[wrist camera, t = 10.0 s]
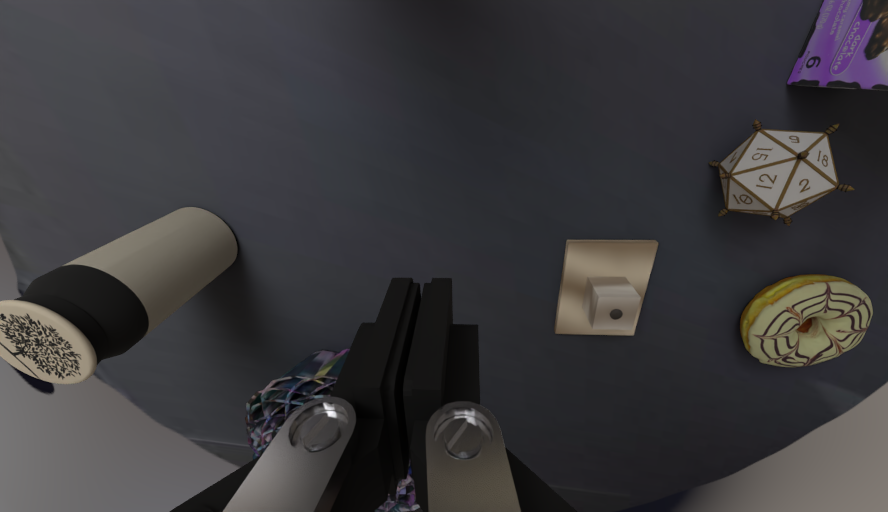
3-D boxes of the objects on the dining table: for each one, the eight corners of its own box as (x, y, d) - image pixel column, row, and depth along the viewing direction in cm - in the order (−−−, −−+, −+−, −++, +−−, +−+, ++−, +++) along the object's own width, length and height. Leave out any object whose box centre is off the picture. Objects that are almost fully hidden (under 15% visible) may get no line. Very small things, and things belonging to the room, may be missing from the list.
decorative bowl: (306, 449, 61) (280, 516, 53) (241, 330, 47) (192, 395, 39) (456, 449, 59) (454, 519, 50) (436, 321, 44) (428, 390, 36)
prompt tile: (566, 239, 38) (579, 262, 34) (655, 240, 38) (679, 262, 33) (554, 329, 44) (563, 358, 39) (630, 330, 43) (648, 360, 39)
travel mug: (220, 201, 39) (47, 294, 23) (250, 265, 42) (117, 384, 27) (155, 210, 40) (-54, 306, 24) (190, 272, 43) (28, 391, 28)
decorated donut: (770, 365, 44) (796, 391, 41) (708, 317, 42) (731, 341, 38) (868, 305, 40) (908, 329, 36) (806, 248, 37) (842, 268, 33)
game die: (739, 147, 36) (880, 168, 29) (693, 219, 37) (819, 257, 30) (726, 92, 30) (900, 101, 23) (672, 180, 31) (823, 215, 24)
